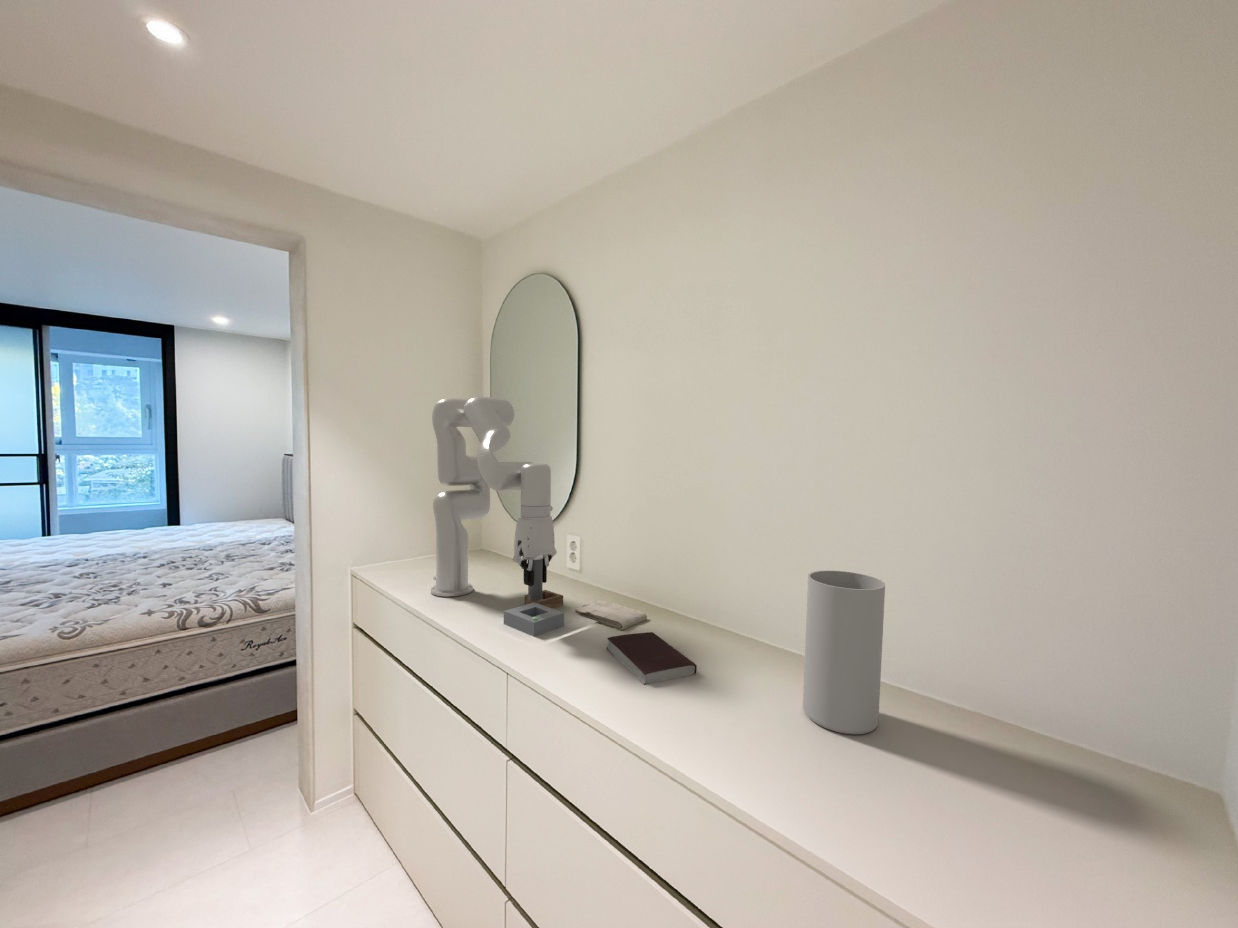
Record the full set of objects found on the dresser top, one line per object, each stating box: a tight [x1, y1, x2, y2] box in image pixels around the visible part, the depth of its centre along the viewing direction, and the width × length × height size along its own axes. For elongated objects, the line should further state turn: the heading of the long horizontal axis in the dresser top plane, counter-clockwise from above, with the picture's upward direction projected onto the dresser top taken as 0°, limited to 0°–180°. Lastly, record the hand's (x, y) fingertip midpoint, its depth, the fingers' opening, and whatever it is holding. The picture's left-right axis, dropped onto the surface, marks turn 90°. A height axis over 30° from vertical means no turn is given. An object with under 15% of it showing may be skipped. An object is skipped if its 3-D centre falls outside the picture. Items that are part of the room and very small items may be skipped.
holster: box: [524, 589, 564, 609], centre depth 149 cm, size 8×8×4 cm
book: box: [606, 631, 698, 686], centre depth 115 cm, size 12×19×3 cm, turn 24°
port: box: [503, 602, 565, 637], centre depth 133 cm, size 12×10×4 cm
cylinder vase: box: [802, 570, 886, 735], centre depth 93 cm, size 12×12×25 cm
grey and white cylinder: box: [527, 555, 543, 600], centre depth 133 cm, size 4×4×12 cm
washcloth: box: [573, 599, 648, 631], centre depth 142 cm, size 12×18×3 cm, turn 52°
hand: (535, 582), depth 133 cm, fingers closed on grey and white cylinder, 3 cm apart
